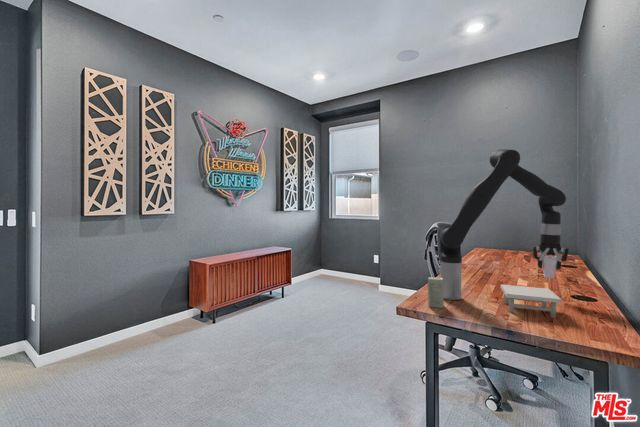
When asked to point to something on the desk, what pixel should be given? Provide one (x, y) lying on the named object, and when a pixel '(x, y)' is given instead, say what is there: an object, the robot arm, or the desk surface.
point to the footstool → (530, 298)
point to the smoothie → (549, 266)
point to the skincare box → (435, 292)
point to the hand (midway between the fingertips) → (549, 268)
